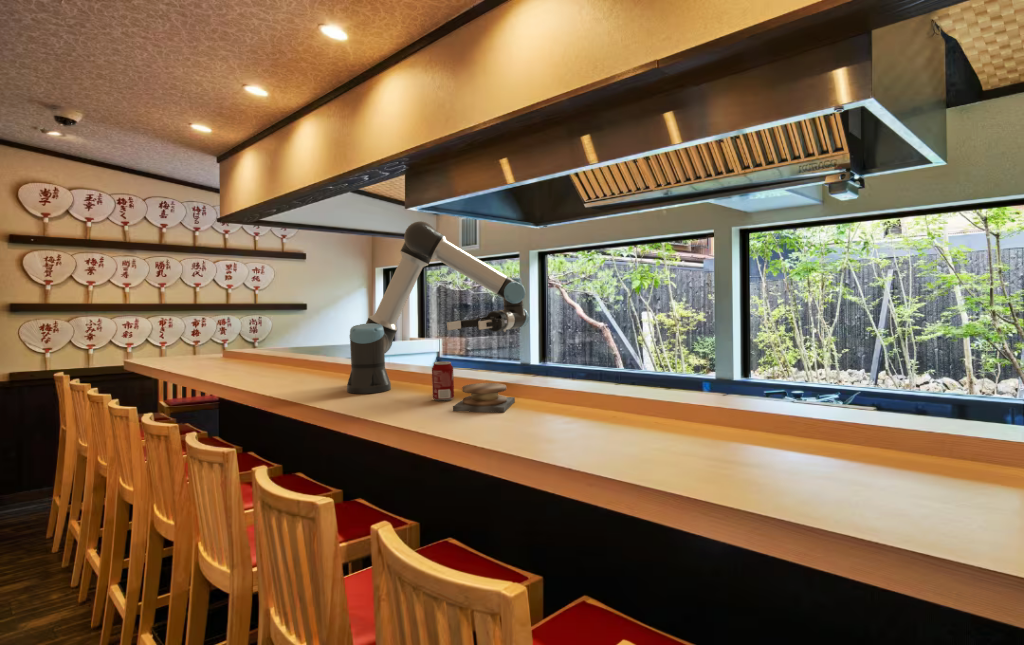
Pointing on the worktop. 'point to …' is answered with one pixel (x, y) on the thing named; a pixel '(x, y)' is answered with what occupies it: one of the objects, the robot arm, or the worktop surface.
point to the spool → (484, 398)
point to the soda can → (442, 381)
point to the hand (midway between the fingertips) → (463, 325)
